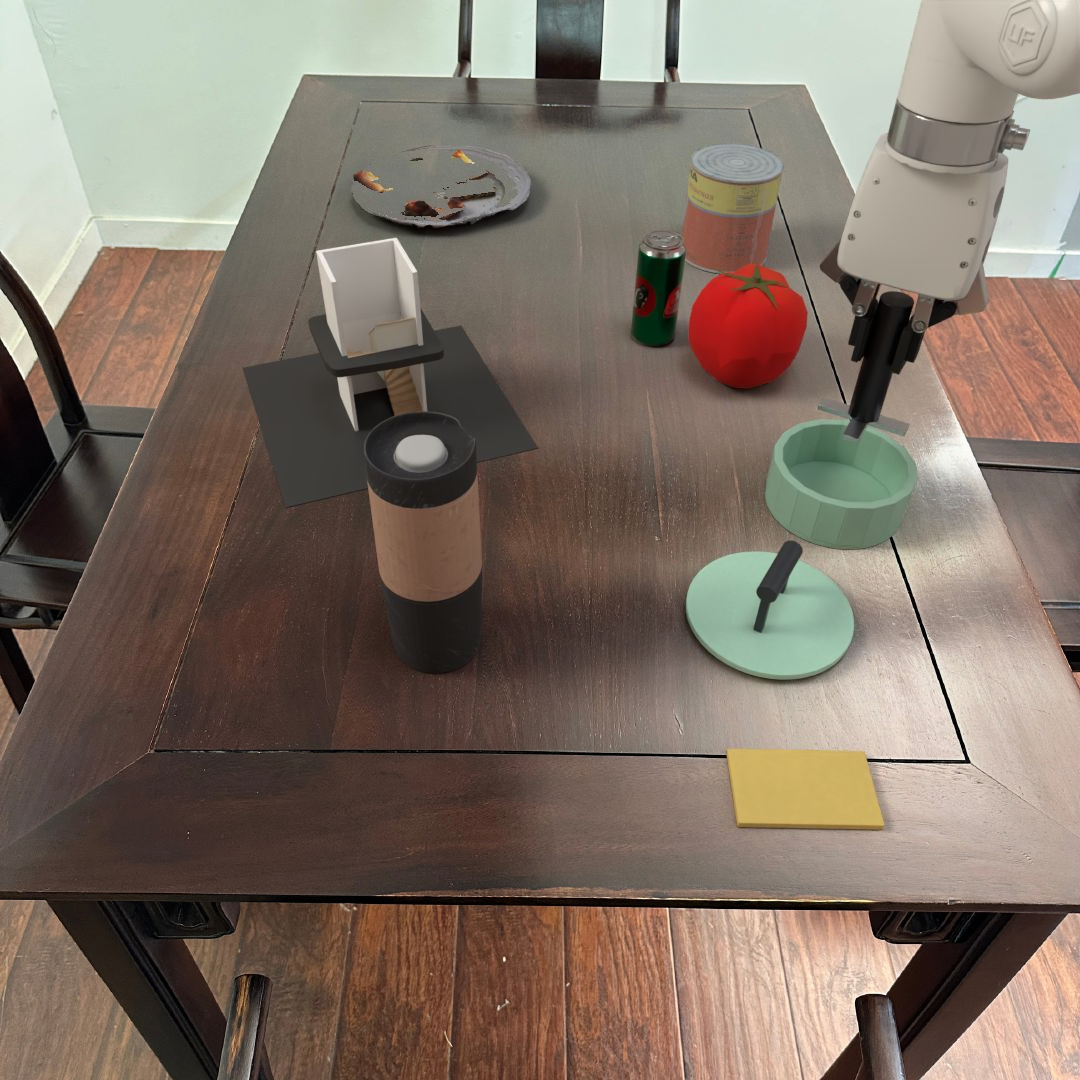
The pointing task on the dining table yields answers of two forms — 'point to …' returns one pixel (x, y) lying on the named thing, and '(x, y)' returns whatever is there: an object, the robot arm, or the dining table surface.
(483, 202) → the food plate
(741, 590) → the lid
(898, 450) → the bowl
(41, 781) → the dining table surface
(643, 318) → the soda can
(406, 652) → the travel mug
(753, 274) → the tomato
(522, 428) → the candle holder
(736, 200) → the canned food
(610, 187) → the dining table surface
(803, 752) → the mat
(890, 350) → the black and grey rod
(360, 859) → the dining table surface
